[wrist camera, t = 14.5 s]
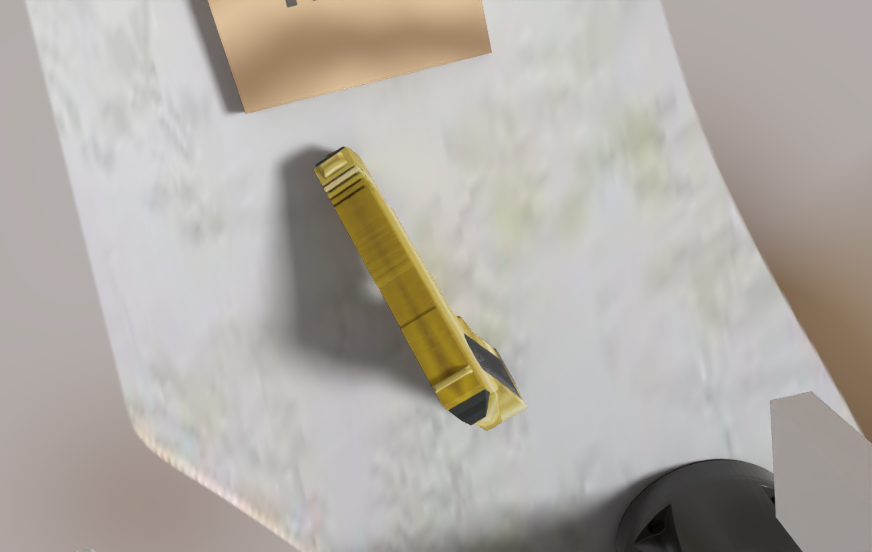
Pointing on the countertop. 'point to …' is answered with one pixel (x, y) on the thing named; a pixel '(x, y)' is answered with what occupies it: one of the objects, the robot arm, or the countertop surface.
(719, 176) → the countertop surface
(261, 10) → the board
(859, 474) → the robot arm
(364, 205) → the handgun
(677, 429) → the countertop surface
